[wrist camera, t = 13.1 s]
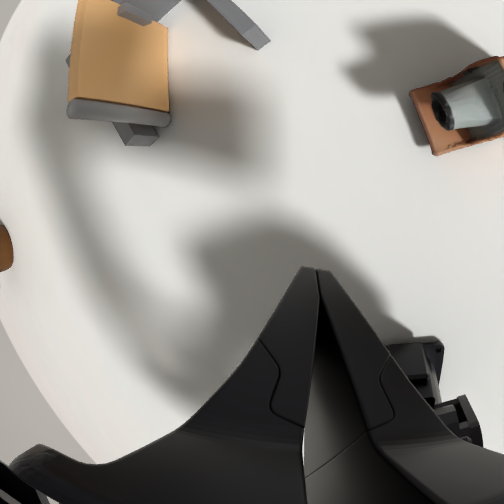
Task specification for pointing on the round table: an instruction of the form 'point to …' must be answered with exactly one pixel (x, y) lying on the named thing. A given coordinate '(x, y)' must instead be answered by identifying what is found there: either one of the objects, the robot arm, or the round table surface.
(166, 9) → the grey cabinet body
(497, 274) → the round table surface
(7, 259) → the mug
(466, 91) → the electronic device
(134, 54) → the side door
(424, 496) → the robot arm
